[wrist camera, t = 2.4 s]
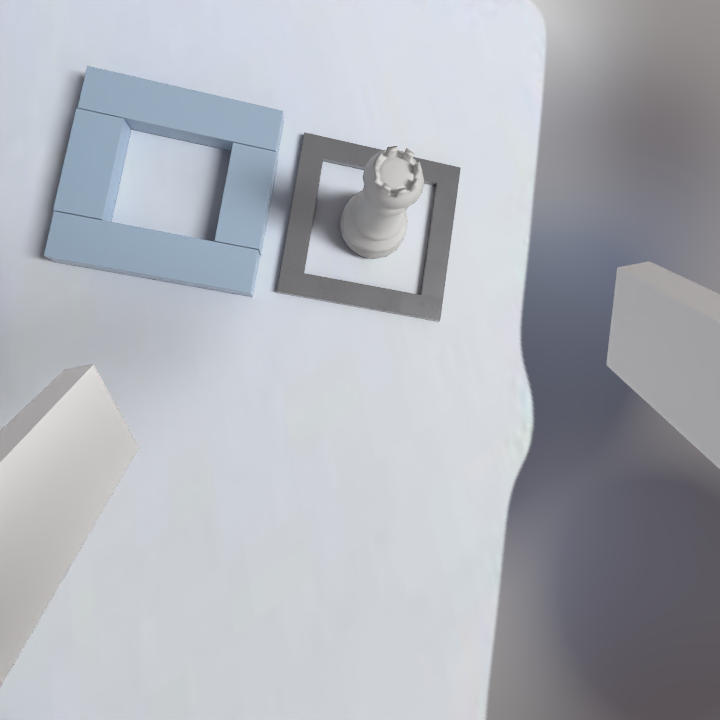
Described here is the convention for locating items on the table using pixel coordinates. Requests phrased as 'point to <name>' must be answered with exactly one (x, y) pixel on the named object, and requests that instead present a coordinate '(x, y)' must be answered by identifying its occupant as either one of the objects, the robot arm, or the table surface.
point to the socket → (104, 168)
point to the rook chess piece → (382, 204)
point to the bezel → (354, 293)
